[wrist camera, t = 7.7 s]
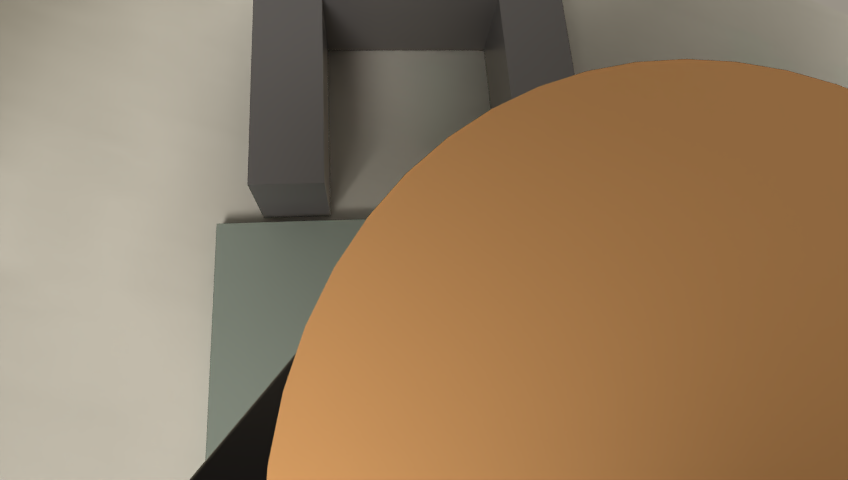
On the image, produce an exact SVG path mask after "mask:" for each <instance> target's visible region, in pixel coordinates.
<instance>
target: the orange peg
mask: <svg viewBox="0 0 848 480" xmlns="http://www.w3.org/2000/svg"><path fill="white" fill-rule="evenodd" d="M267 480H848V89H847V88H845V87H842V86H840V85H837V84H833V83H830V82H826V81H823V80H819V79H815V78H812V77H808V76H805V75H801V74H798V73H794V72H791V71H787V70H781V69H775V68H769V67H764V66H758V65H752V64H746V63H740V62H730V61H712V60H694V59H678V60H662V61H645V62H633V63H628V64H623V65H617V66H612V67H607V68H601V69H596V70H590V71H586V72H583V73H579V74H576V75H573V76H570V77H567V78H564V79H561V80H558V81H555V82H551V83H548V84H545V85H542V86H539V87H537V88H535V89H533V90H530V91H528V92H526V93H524V94H522V95H520V96H518V97H516V98H514V99H511V100H509V101H507V102H505V103H503V104H501V105H499V106H497V107H495V108H493V109H491V110H489V111H488V112H486V113H485V114H483V115H482V116H480V117H479V118H477V119H475V120H474V121H472V122H471V123H469V124H468V125H466V126H465V127H463V128H462V129H460V130H459V131H457V132H456V133H454V134H452V135H451V136H449V137H448V138H447V139H445V140H444V141H443V142H442V143H441V144H440V145H439V146H437V147H436V148H435V149H434V150H433V151H432V152H430V153H429V154H428V155H427V156H426V157H425V158H424V159H422V160H421V161H420V162H419V163H418V164H417V165H415V166H414V167H413V168H412V169H411V170H410V171H408V172H407V173H406V174H405V175H404V177H403V178H402V179H401V180H400V181H399V182H398V183H397V184H396V186H395V187H394V188H393V189H392V190H391V191H390V192H389V194H388V195H387V196H386V197H385V198H384V199H383V200H382V201H381V203H380V204H379V205H378V206H377V207H376V208H375V209H374V211H373V212H372V213H371V214H370V215H369V216H368V218H367V219H366V221H365V222H364V224H363V225H362V227H361V228H360V230H359V231H358V233H357V234H356V236H355V237H354V239H353V240H352V242H351V243H350V245H349V246H348V248H347V249H346V251H345V252H344V254H343V255H342V256H341V258H340V259H339V261H338V262H337V264H336V265H335V267H334V269H333V271H332V273H331V275H330V277H329V279H328V281H327V283H326V285H325V287H324V289H323V291H322V293H321V295H320V297H319V299H318V301H317V303H316V305H315V307H314V309H313V311H312V314H311V316H310V318H309V320H308V322H307V324H306V326H305V329H304V331H303V334H302V337H301V340H300V343H299V346H298V349H297V352H296V355H295V358H294V361H293V364H292V367H291V370H290V373H289V375H288V378H287V381H286V384H285V387H284V390H283V394H282V399H281V403H280V408H279V413H278V418H277V423H276V428H275V432H274V437H273V442H272V447H271V452H270V457H269V462H268V468H267Z"/></svg>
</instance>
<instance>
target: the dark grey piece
mask: <svg viewBox="0 0 848 480" xmlns="http://www.w3.org/2000/svg"><path fill="white" fill-rule="evenodd" d="M328 50H484V54H485V63H486V71H487V80H488V89H489V98H490V106H491V109H493V108H495V107H497V106H499V105H501V104H503V103H505V102H507V101H509V100H511V99H514V98H516V97H518V96H520V95H522V94H524V93H526V92H528V91H530V90H533V89H535V88H537V87H539V86H542V85H545V84H548V83H551V82H555V81H558V80H561V79H564V78H567V77H570V76H573V75H574V69H573V63H572V57H571V51H570V45H569V40H568V34H567V28H566V22H565V16H564V10H563V4H562V0H253V27H252V59H251V92H250V124H249V157H248V186H249V188H250V190H251V192H252V194H253V196H254V198H255V200H256V202H257V204H258V206H259V208H260V210H261V212H262V214H263V216H264V218H272V217H305V216H331V213H330V153H329V93H328Z"/></svg>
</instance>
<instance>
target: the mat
mask: <svg viewBox="0 0 848 480" xmlns="http://www.w3.org/2000/svg"><path fill="white" fill-rule="evenodd" d="M365 221H366V219H354V220H322V221H290V222H258V223H226V224H217V229H216V250H215V271H214V292H213V313H212V334H211V355H210V376H209V397H208V418H207V440H206V460H207V458H208V457H209V456H210V455H211V454H212V452H213V451H214V450H215V449H216V448H217V446H218V445H219V444H220V443H221V442H222V441H223V439H224V438H225V437H226V436H227V435H228V433H229V432H230V431H231V430H232V429H233V427H234V426H235V425H236V424H237V423H238V421H239V420H240V419H241V418H242V417H243V415H244V414H245V413H246V412H247V411H248V410H249V408H250V407H251V406H252V405H253V404H254V402H255V401H256V400H257V399H258V398H259V396H260V395H261V394H262V393H263V392H264V390H265V389H266V388H267V387H268V386H269V384H270V383H271V382H272V381H273V380H274V379H275V377H276V376H277V375H278V374H279V373H280V371H281V370H282V369H283V368H284V367H285V365H286V364H287V363H288V362H289V361H290V359H291V358H292V357H293V356H294V355H295V353H296V352H297V349H298V346H299V343H300V340H301V337H302V334H303V331H304V329H305V326H306V324H307V322H308V320H309V318H310V316H311V314H312V311H313V309H314V307H315V305H316V303H317V301H318V299H319V297H320V295H321V293H322V291H323V289H324V287H325V285H326V283H327V281H328V279H329V277H330V275H331V273H332V271H333V269H334V267H335V265H336V264H337V262H338V261H339V259H340V258H341V256H342V255H343V254H344V252H345V251H346V249H347V248H348V246H349V245H350V243H351V242H352V240H353V239H354V237H355V236H356V234H357V233H358V231H359V230H360V228H361V227H362V225H363V224H364V222H365Z"/></svg>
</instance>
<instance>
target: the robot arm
mask: <svg viewBox="0 0 848 480" xmlns="http://www.w3.org/2000/svg"><path fill="white" fill-rule="evenodd" d="M295 355H296V353H295ZM295 355H294V356H293V357H292V358H291V359H290V361H289V362H288V363H287V364H286V365H285V367H284V368H283V369H282V370H281V371H280V373H279V374H278V375H277V376H276V377H275V379H274V380H273V381H272V382H271V383H270V384H269V386H268V387H267V388H266V389H265V390H264V392H263V393H262V394H261V395H260V396H259V398H258V399H257V400H256V401H255V402H254V404H253V405H252V406H251V407H250V408H249V410H248V411H247V412H246V413H245V414H244V415H243V417H242V418H241V419H240V420H239V421H238V423H237V424H236V425H235V426H234V427H233V429H232V430H231V431H230V432H229V433H228V435H227V436H226V437H225V438H224V439H223V441H222V442H221V443H220V444H219V445H218V446H217V448H216V449H215V450H214V451H213V452H212V454H211V455H210V456H209V457H208V458H207V460H206V461H205V462H204V463H203V464H202V466H201V467H200V468H199V469H198V470H197V472H196V473H195V474H194V475H193V476H192V477H191V479H190V480H267V468H268V462H269V457H270V452H271V447H272V442H273V437H274V432H275V428H276V423H277V418H278V413H279V408H280V403H281V399H282V394H283V390H284V387H285V384H286V381H287V378H288V375H289V373H290V370H291V367H292V364H293V361H294V358H295Z"/></svg>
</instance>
